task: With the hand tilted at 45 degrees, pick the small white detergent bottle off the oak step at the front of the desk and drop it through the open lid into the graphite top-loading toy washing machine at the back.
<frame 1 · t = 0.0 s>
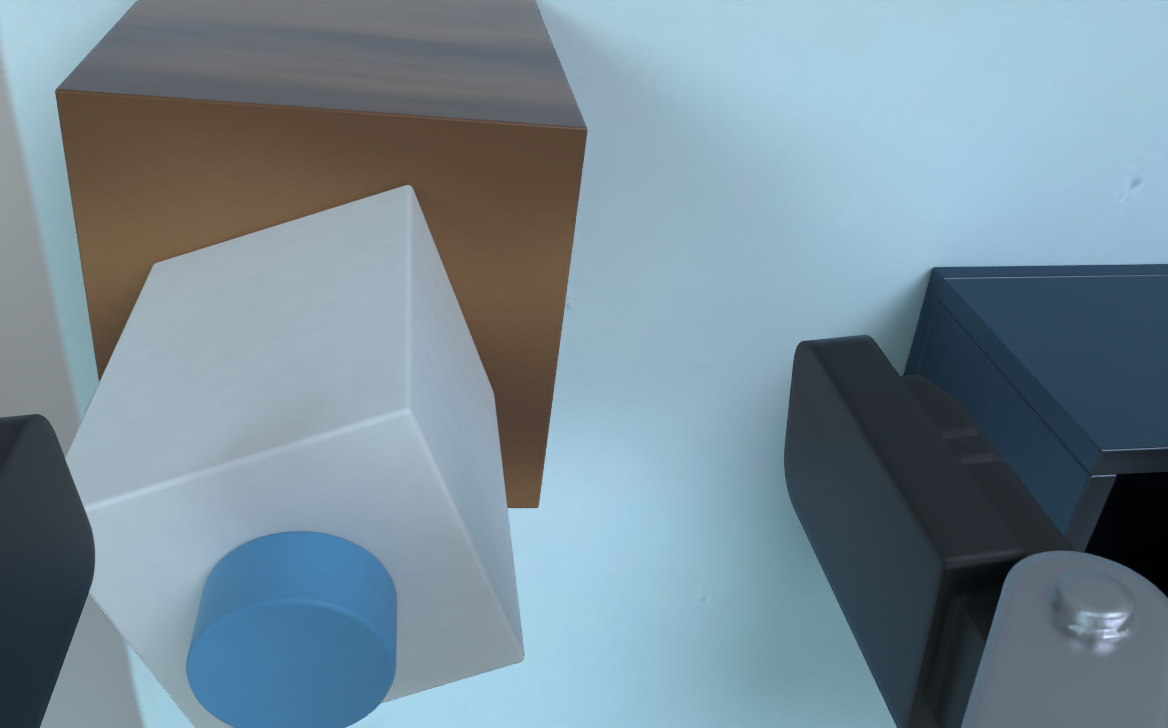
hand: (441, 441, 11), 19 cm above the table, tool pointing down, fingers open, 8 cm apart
washer: (1073, 427, 38), on the table
white bottle: (334, 332, 20), point 10 cm above the table, touching step
step: (357, 147, 28), on the table
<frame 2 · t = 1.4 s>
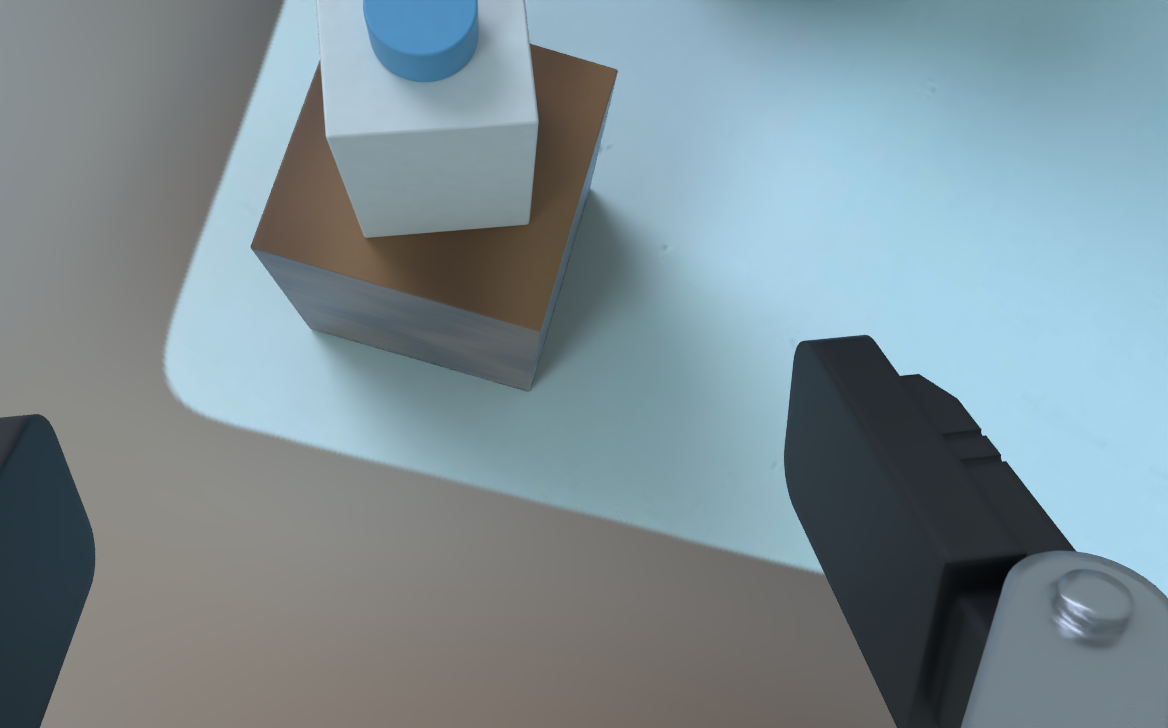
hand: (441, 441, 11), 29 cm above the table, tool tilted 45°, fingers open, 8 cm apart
white bottle: (440, 155, 32), point 10 cm above the table, touching step
step: (453, 255, 41), on the table
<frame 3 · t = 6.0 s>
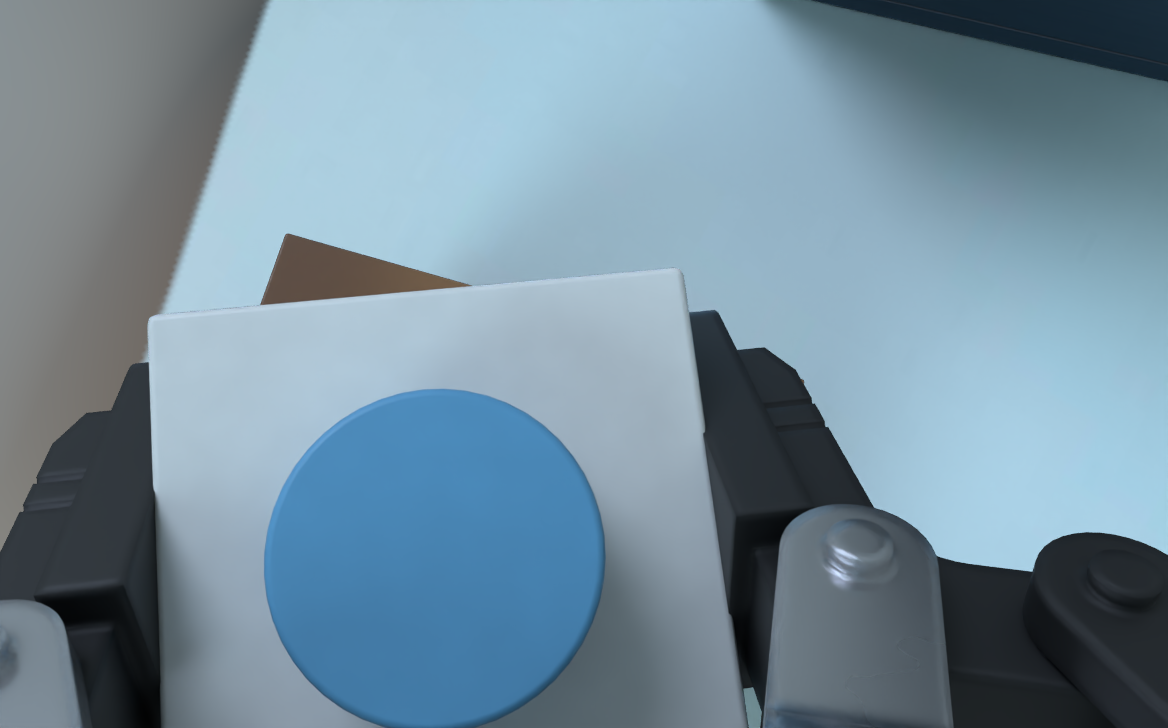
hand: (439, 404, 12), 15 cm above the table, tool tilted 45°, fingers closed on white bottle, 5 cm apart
white bottle: (469, 570, 16), point 10 cm above the table, touching gripper, step
step: (481, 577, 26), on the table
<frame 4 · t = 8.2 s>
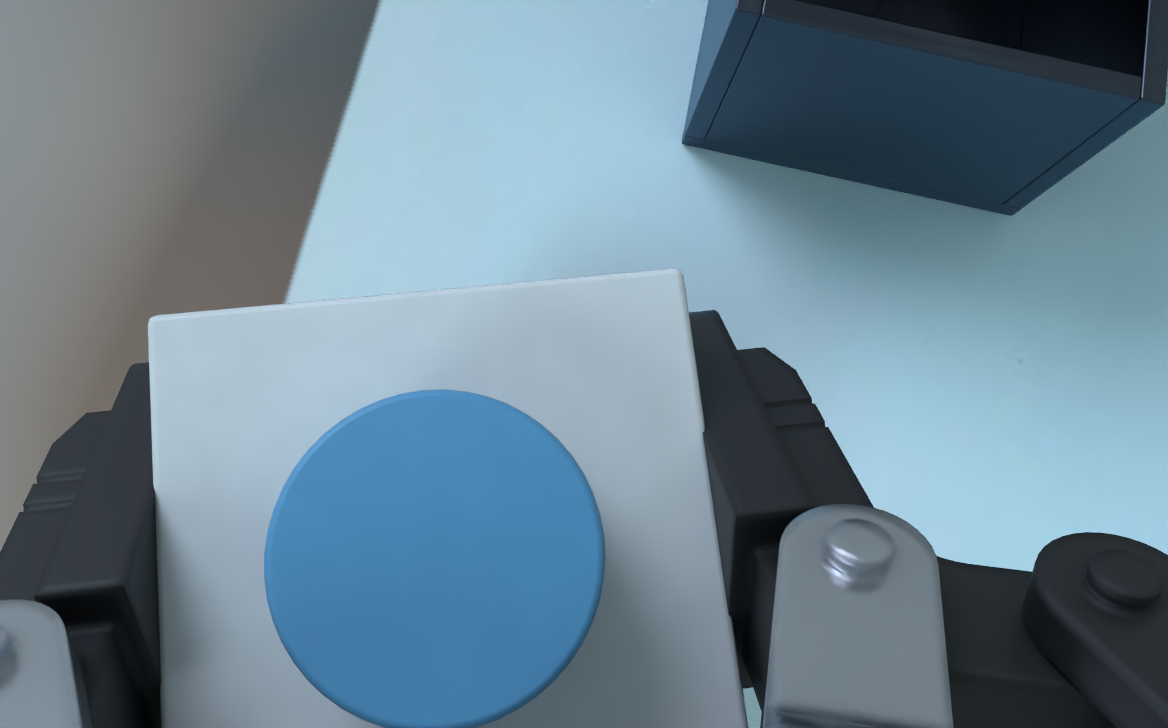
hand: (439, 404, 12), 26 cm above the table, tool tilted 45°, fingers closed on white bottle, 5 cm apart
washer: (871, 19, 42), on the table
white bottle: (469, 570, 16), point 21 cm above the table, touching gripper
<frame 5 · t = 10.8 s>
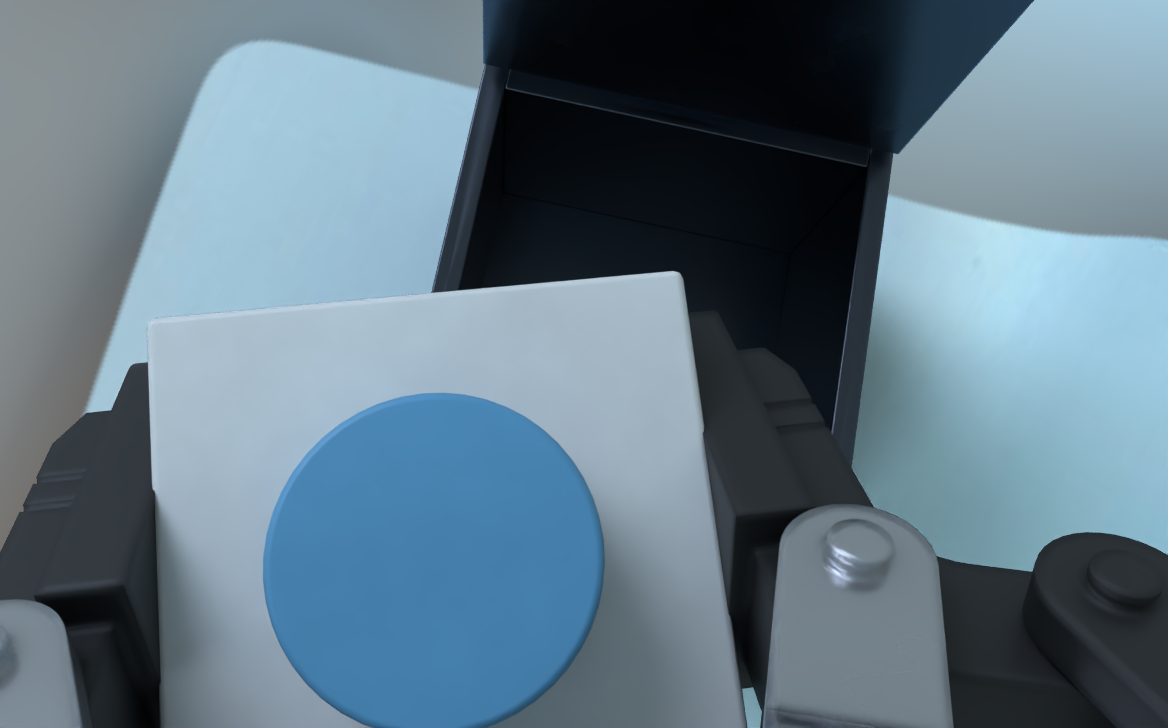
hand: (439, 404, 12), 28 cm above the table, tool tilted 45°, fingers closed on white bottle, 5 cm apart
washer: (616, 380, 41), on the table
white bottle: (469, 572, 16), point 24 cm above the table, touching gripper
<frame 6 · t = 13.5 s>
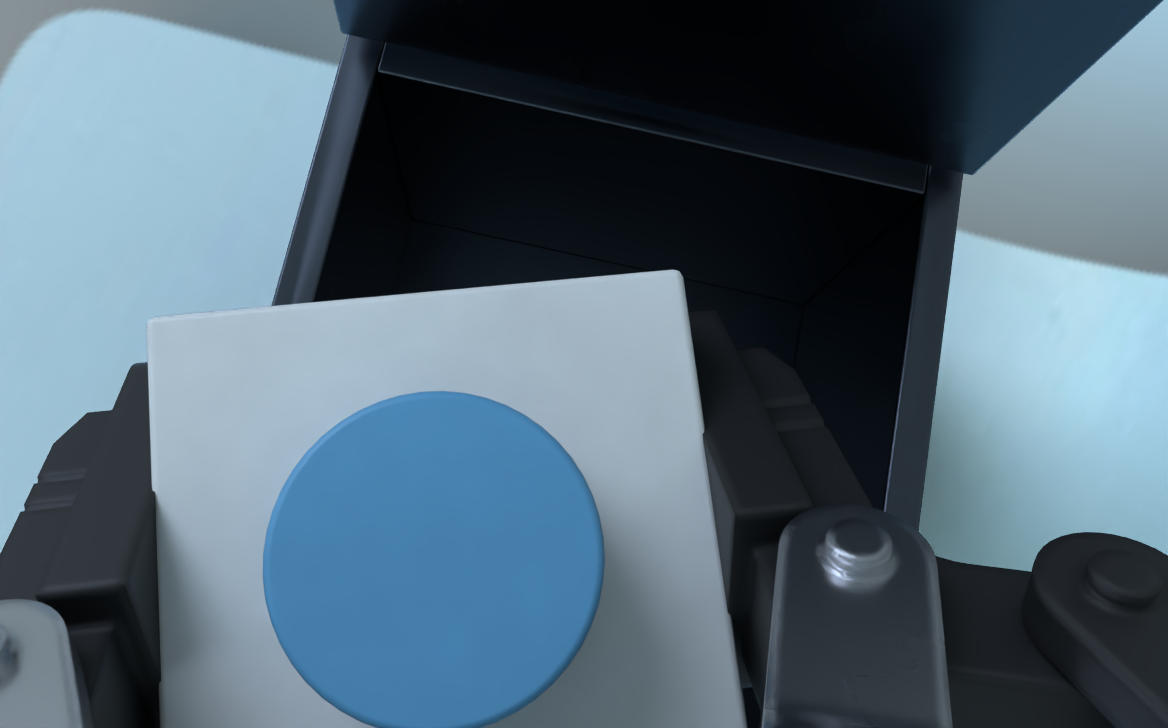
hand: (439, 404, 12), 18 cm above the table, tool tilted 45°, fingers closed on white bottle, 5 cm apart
washer: (563, 478, 30), on the table
white bottle: (469, 571, 16), point 13 cm above the table, touching gripper
when the fingers open (12 cm above the table, at t = 15.6 s): white bottle drops 7 cm, resting on washer.
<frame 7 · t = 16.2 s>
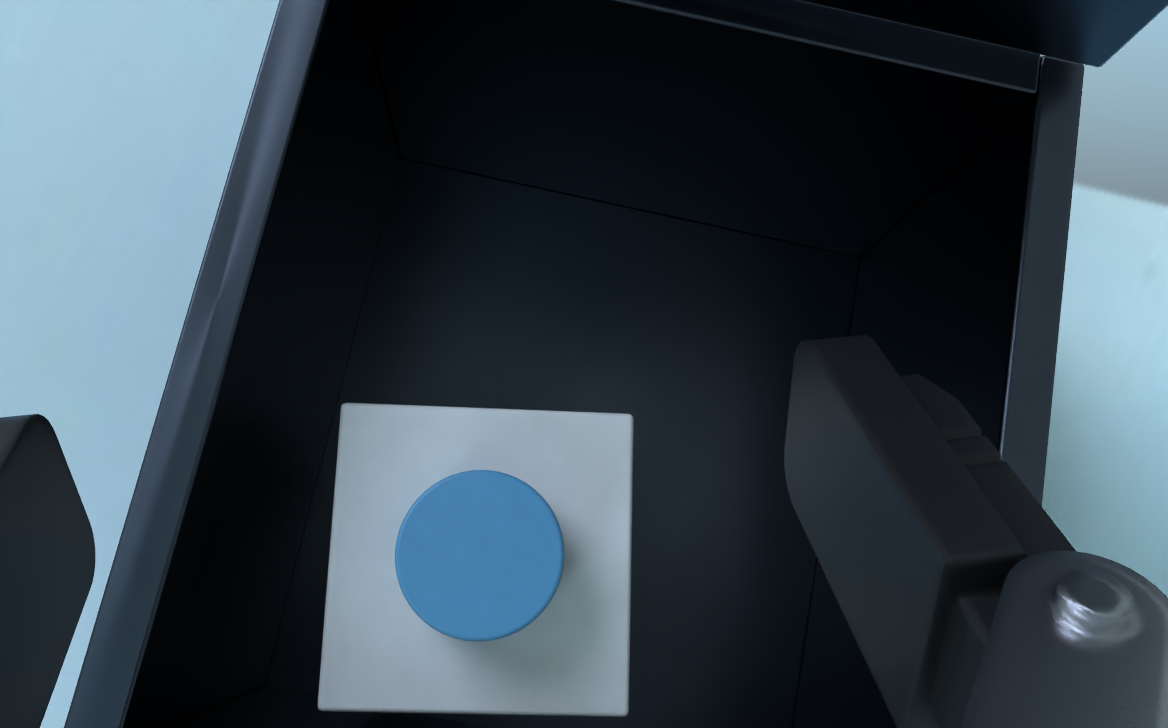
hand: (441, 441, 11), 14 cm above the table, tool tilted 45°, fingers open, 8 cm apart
washer: (579, 461, 25), on the table
white bottle: (488, 564, 24), point 1 cm above the table, touching washer
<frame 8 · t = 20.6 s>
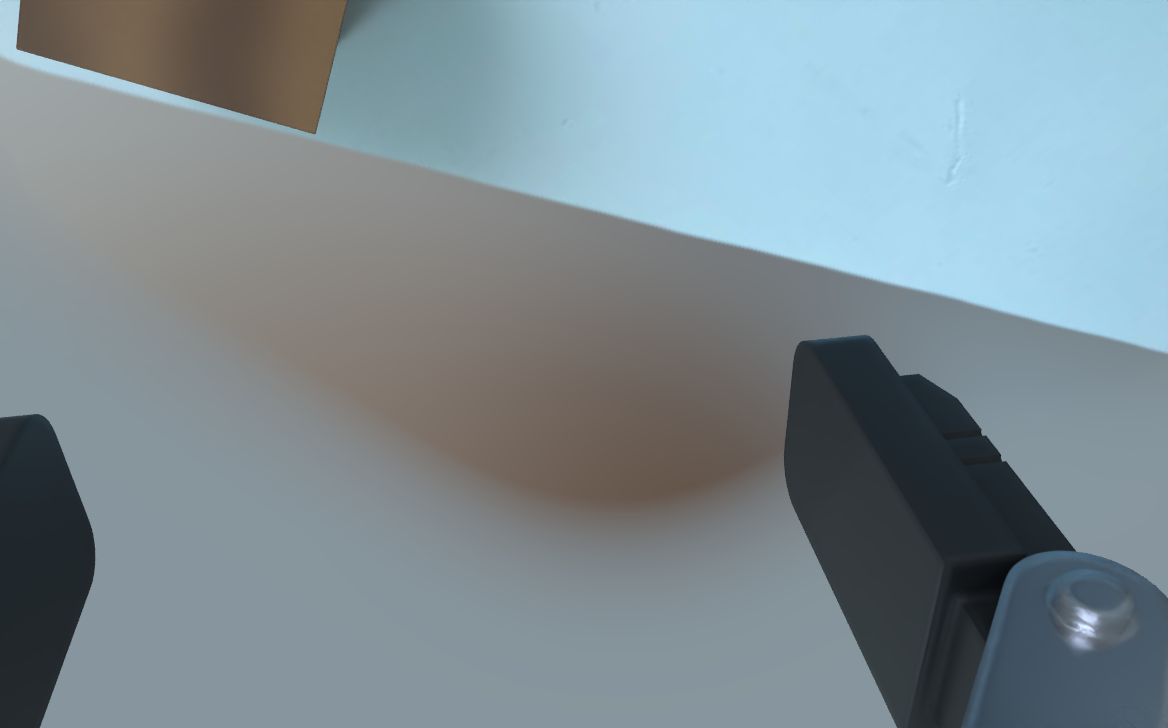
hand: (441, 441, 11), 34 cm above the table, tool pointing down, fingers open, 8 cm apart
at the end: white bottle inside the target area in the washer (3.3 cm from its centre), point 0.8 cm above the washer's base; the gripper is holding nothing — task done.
